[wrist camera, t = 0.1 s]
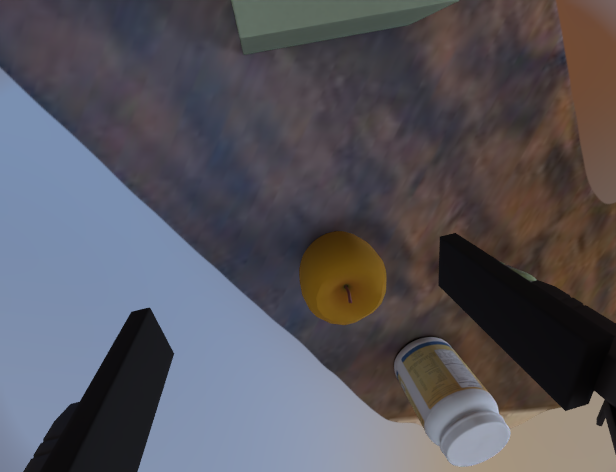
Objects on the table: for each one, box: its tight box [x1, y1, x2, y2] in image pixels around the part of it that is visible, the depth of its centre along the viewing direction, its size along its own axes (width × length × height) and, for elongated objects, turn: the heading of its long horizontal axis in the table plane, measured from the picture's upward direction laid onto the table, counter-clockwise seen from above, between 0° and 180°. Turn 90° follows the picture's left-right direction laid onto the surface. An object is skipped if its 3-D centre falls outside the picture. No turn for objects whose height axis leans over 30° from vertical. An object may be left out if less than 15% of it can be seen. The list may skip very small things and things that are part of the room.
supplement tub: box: [394, 337, 510, 467], centre depth 51 cm, size 12×12×17 cm
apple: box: [299, 231, 386, 325], centre depth 39 cm, size 11×11×13 cm
